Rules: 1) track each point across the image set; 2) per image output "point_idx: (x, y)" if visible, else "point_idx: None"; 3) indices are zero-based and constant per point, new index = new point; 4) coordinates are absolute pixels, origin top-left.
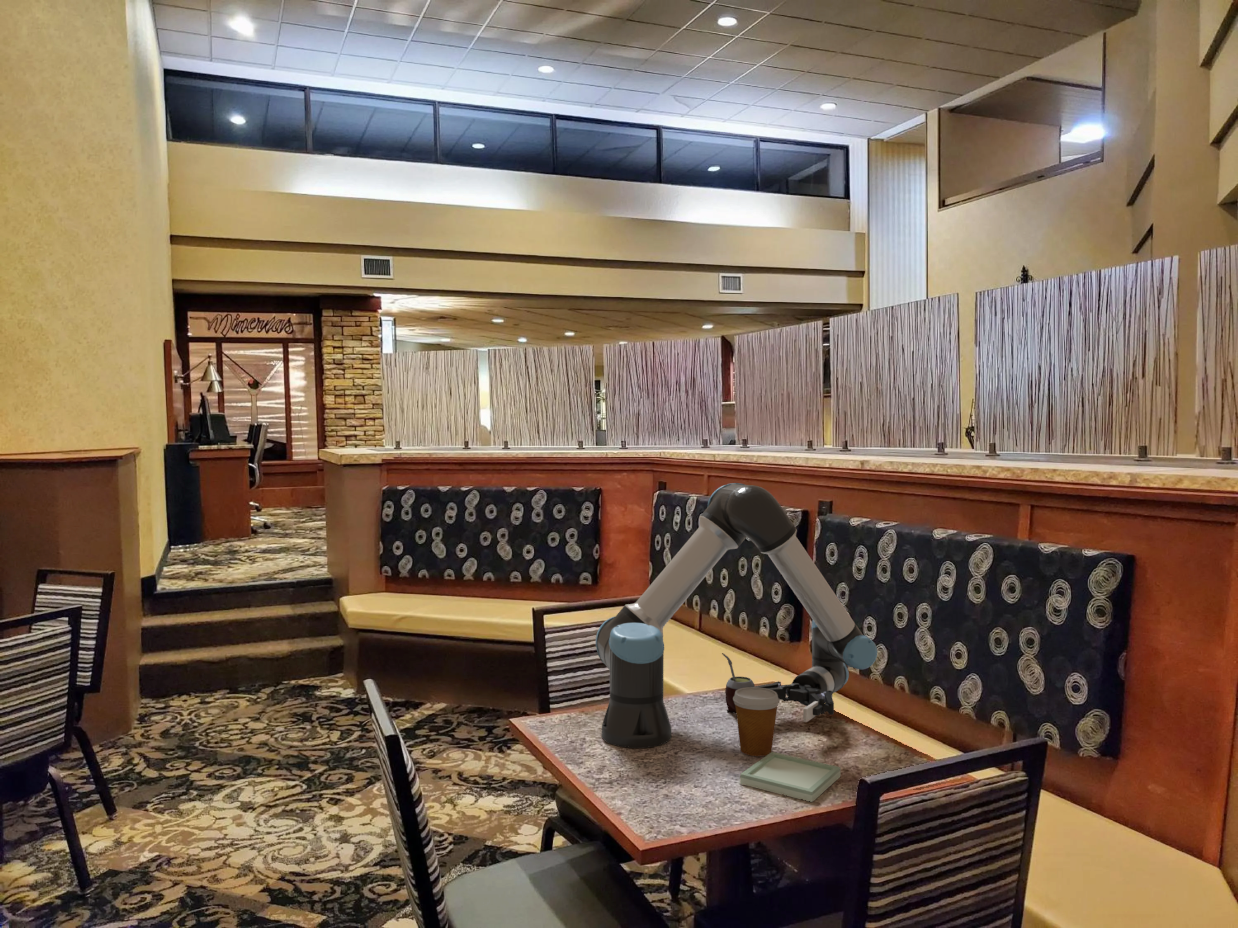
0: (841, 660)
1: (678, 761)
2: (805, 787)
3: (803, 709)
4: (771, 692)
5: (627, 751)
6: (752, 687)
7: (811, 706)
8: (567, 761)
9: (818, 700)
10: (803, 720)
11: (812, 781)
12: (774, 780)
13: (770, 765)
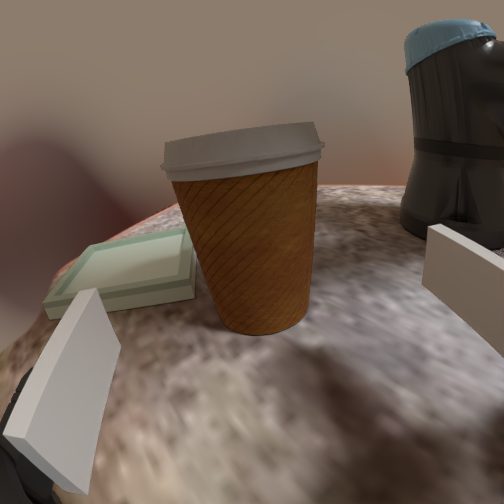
0: None
1: (325, 224)
2: (99, 255)
3: (96, 292)
4: (207, 142)
5: (398, 209)
6: (294, 123)
7: (53, 337)
8: (392, 187)
9: (6, 490)
10: (118, 344)
11: (91, 266)
12: (141, 237)
13: (171, 261)
